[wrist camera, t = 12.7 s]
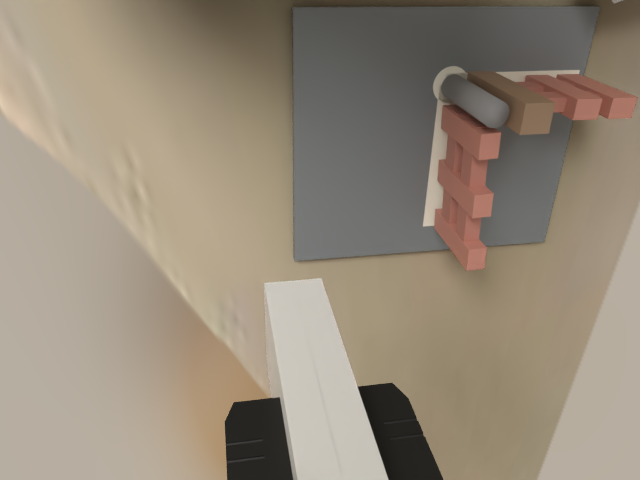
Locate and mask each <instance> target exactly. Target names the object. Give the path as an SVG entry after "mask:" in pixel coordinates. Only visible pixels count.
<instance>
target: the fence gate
mask: <svg viewBox="0 0 640 480" xmlns="http://www.w3.org/2000/svg"><path fill="white" fill-rule="evenodd" d="M441 91H442V93H443V95H444V96H445V97H447V98H448V99H449V100H451V101H452V102H454V103H455V104H454V105H443V106H442V121H441V129H442V130H444V131H445V132H446V133H447V134H448V138H447V151H446V159H441V160H439V164H438V178H437V181H438V182H439V183H440V184H441V185H442V186H443V187H444V191H443V204H442V208H440V209H435V221H434V229H435V230H436V231H437V232H438V234H439V235H440V236H441V238H442V239H443V240H444V242H445V243H446V244H447V246H448V247H449V248H450V250H451V251H452V252H453V254H454V255H455V256H456V257H457V259H458V260H459V261H460V263H461V264H462V265H463V267H464V268H465V269H466V271H469V270H477V269H484V267H485V259H486V251H487V247H486V246H485V245H484V244H483V243H482V242H481V241H480V239H479V234H480V226H481V217H490V216H491V211H492V203H493V195H494V193H493V192H492V191H491V190H489V189H488V188H487V187H486V186H485V182H486V174H487V165H488V159H496V158H498V154H499V146H500V138H501V132H499V131H498V130H497V129H495V128H498V127H500V126H502V125H503V124H504V123H505V122H506V121H507V119H508V117H509V113H510V110H509V106H508V105H507V104H506V103H505V102H504V101H502V100H500V99H499V98H497V97H495V96H493V95H492V94H490V93H488V92H487V91H485V90H483V89H482V88H480V87H478V86H476V85H475V84H473V83H471V82H470V81H468V80H466V79H465V78H463V77H461V76H459V75H457V74H452V75H449V76H448V77H446V78H445V79H444V81H443V83H442V86H441Z"/></svg>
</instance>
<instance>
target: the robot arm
mask: <svg viewBox="0 0 640 480" xmlns="http://www.w3.org/2000/svg"><path fill="white" fill-rule="evenodd" d="M264 294H265V322H266V351H267V368H268V375H269V382H270V389H271V396H272V398H268V399H260V400H251V401H242V402H234V403H233V405H232V408H231V410H230V412H229V414H228V416H227V418H226V421H225V435H226V458H227V480H443V478H442V475H441V473H440V471H439V468H438V466H437V464H436V461H435V459H434V457H433V455H432V452H431V450H430V448H429V445H428V443H427V441H426V438H425V437H424V436H423V431H422V429H421V427H420V424H419V422H418V421H417V419H416V415H415V413H414V411H413V408H412V406H411V404H410V401H409V399H408V398H407V397H406V396H405V395H404V394H403V393H402V392H401V391H400V390H399V389H398V388H397V387H396V386H395V385H394V384H393V383H386V384H377V385H369V386H360V387H357V384H356V381H355V378H354V375H353V372H352V369H351V366H350V363H349V360H348V357H347V354H346V351H345V348H344V345H343V342H342V339H341V336H340V333H339V330H338V327H337V324H336V321H335V318H334V315H333V312H332V309H331V306H330V303H329V300H328V297H327V294H326V291H325V288H324V285H323V282H322V279H321V278H319V279H307V280H295V281H283V282H271V283H264Z"/></svg>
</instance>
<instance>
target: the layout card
mask: <svg viewBox="0 0 640 480" xmlns="http://www.w3.org/2000/svg"><path fill="white" fill-rule="evenodd" d="M599 10H600V7H599V6H357V7H292V47H293V230H294V261H303V260H316V259H329V258H342V257H355V256H368V255H381V254H394V253H407V252H420V251H433V250H446V249H450V248H449V247H448V246H447V244H446V243H445V242H444V240H443V239H442V238H441V236H440V235H439V234H438V232H437V231H436V230H435V229H434V221H435V209H440V208H442V204H443V191H444V187H443V186H442V185H441V184H440V183H439V182H438V181H437V178H438V164H439V160H441V159H446V151H447V138H448V134H447V133H446V132H445V131H444V130H442V129H441V121H442V106H443V105H454V104H455V103H454V102H452V101H451V100H449V99H448V98H447V97H445V96H444V95H443V93H442V91H441V86H442V83H443V81H444V79H445V78H446V77H448V76H449V75H452V74H457V75H459V76H461V77H463V78H465V79H466V80H467V74H468V73H467V71H494V72H496V73H498V74H500V75H502V76H504V77H506V78H508V79H510V80H512V81H514V82H525V77H526V75H550V76H552V77H554V78H556V77H557V74H580V75H582V76H584V73H585V69H586V65H587V60H588V56H589V52H590V48H591V44H592V39H593V35H594V31H595V27H596V23H597V18H598V14H599ZM572 124H573V120H571V119H570V118H568V117H566V116H564V115H562V114H560V113H558V112H555V113H553V116H552V121H551V125H550V130H549V134H529V135H519V134H518V133H516V132H515V131H513V130H512V129H510V128H509V127H507V126H506V125H504V124H503V125H502V126H500V127H498V128H495V129H497V130H498V131H499V132H501V138H500V146H499V154H498V158H496V159H488V165H487V174H486V182H485V186H486V187H487V188H488V189H489V190H491V191H492V192H493V193H494V195H493V203H492V211H491V216H490V217H481V226H480V234H479V239H480V241H481V242H482V243H483V244H484V245H485V246H498V245H511V244H524V243H537V242H544V241H545V237H546V233H547V229H548V225H549V220H550V216H551V212H552V208H553V204H554V199H555V195H556V191H557V187H558V182H559V178H560V174H561V170H562V166H563V161H564V157H565V153H566V149H567V145H568V140H569V136H570V132H571V128H572Z"/></svg>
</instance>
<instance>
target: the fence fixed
mask: <svg viewBox="0 0 640 480" xmlns="http://www.w3.org/2000/svg"><path fill="white" fill-rule="evenodd" d="M467 73H468V74H467V80H468V81H470V82H471V83H473V84H475V85H476V86H478V87H480V88H482V89H483V90H485V91H487V92H488V93H490V94H492V95H493V96H495V97H497V98H499V99H500V100H502V101H504V102H505V103H506V104H507V105H508V106H509V110H510V113H509V117H508V119H507V121H506V122H505V123H504V125H506V126H507V127H509V128H510V129H512V130H513V131H515V132H516V133H518V134H519V135H529V134H549V130H550V125H551V121H552V116H553V113H555V112H558V113H560V114H562V115H564V116H566V117H568V118H570V119H571V120H591V119H597V118H598V114H599V115H601V116H603V117H605V118H607V119H617V118H632V115H633V112H634V108H635V105H636V101H637V98H638V97H635V96H633V95H630V94H628V93H625V92H623V91H620V90H618V89H615V88H613V87H610V86H608V85H605V84H603V83H600V82H597V81H595V80H592V79H590V78H587V77H585V76H582V75H580V74H557V77H556V78H554V77H552V76H550V75H526V77H525V82H514V81H512V80H510V79H508V78H506V77H504V76H502V75H500V74H498V73H496V72H494V71H467Z"/></svg>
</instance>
